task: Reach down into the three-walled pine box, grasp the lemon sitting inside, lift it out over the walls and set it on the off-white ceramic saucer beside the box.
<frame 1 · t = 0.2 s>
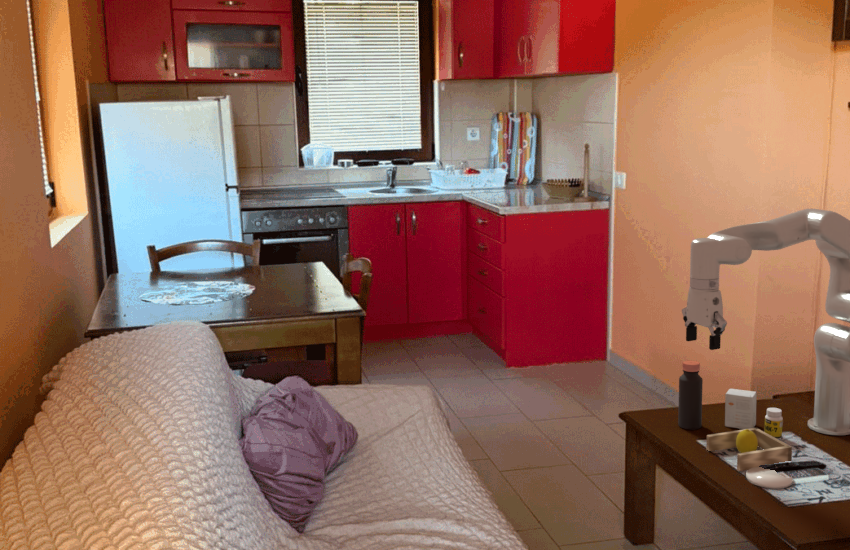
hand: (702, 344, 224), 31 cm above the table, tool pointing down, fingers open, 9 cm apart
vinegar: (689, 426, 247), on the table
supplement bottle: (772, 437, 236), on the table
lemon: (746, 457, 224), on the table
pine box: (747, 456, 224), on the table
small box: (740, 426, 246), on the table
saucer: (769, 479, 210), on the table
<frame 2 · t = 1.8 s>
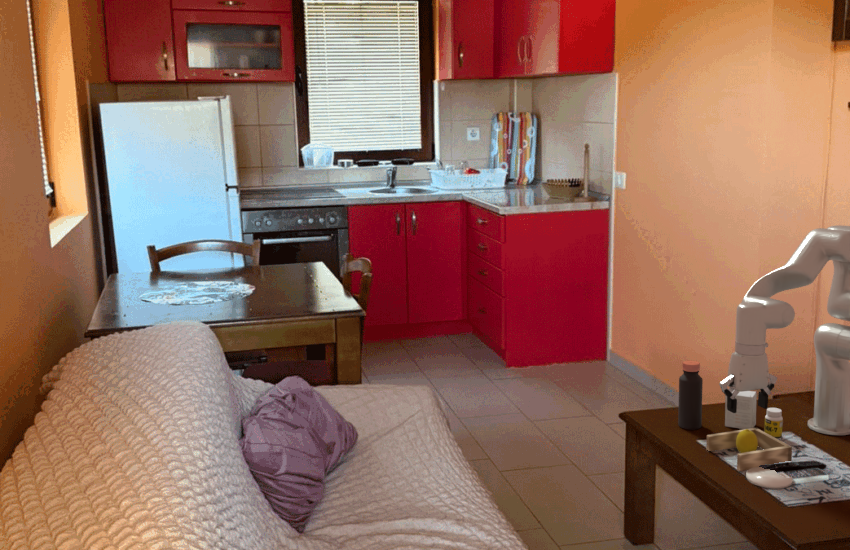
hand: (747, 409, 221), 14 cm above the table, tool pointing down, fingers open, 9 cm apart
nothing on the table moved.
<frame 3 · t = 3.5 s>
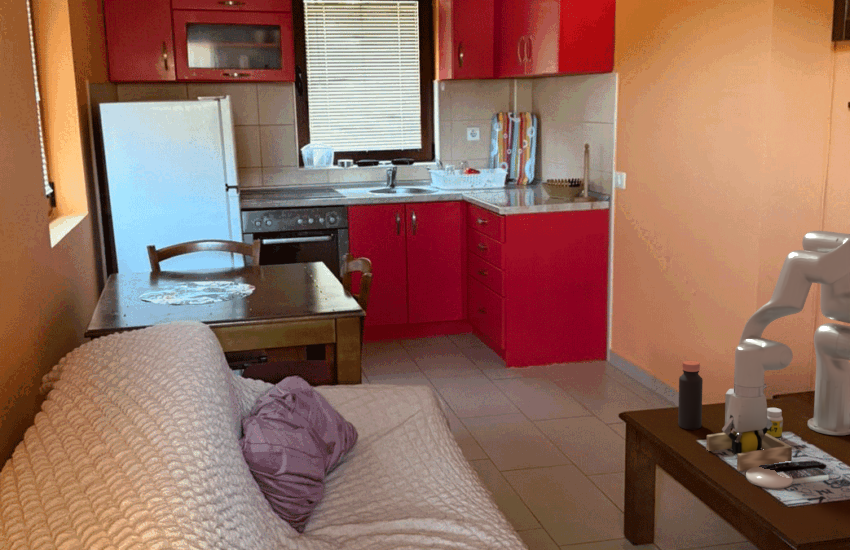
hand: (746, 452, 224), 1 cm above the table, tool pointing down, fingers closed on lemon, 5 cm apart
lemon: (746, 457, 224), on the table, touching gripper
everything else where it was.
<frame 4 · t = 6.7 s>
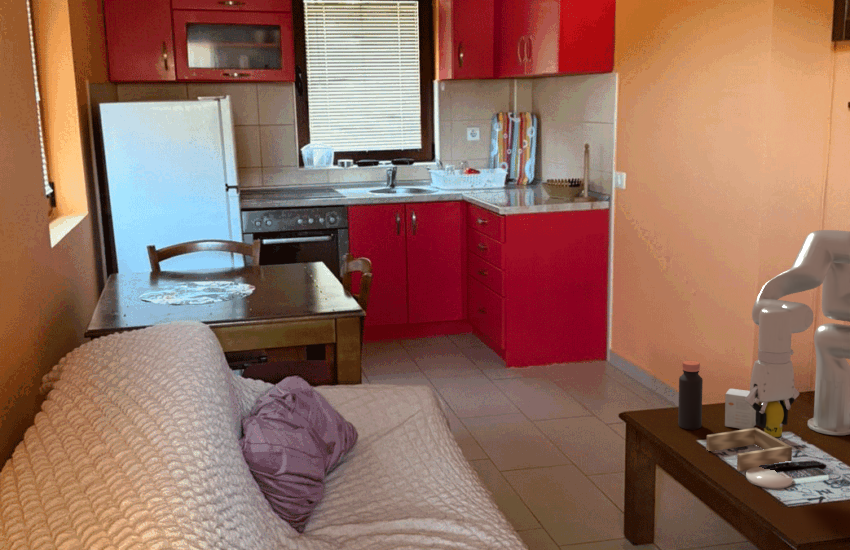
hand: (771, 424, 207), 15 cm above the table, tool pointing down, fingers closed on lemon, 5 cm apart
lemon: (771, 429, 207), point 13 cm above the table, touching gripper
everything else where it was.
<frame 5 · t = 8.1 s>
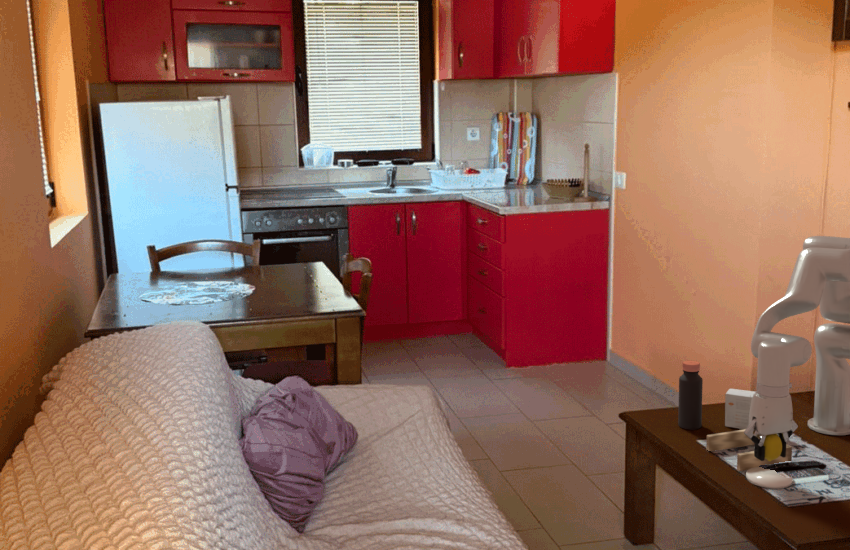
hand: (769, 456, 209), 6 cm above the table, tool pointing down, fingers closed on lemon, 5 cm apart
lemon: (769, 461, 209), point 5 cm above the table, touching gripper
everything else where it was.
when the fingers open (4 cm above the table, at t = 9.5 s): lemon drops 1 cm, resting on saucer.
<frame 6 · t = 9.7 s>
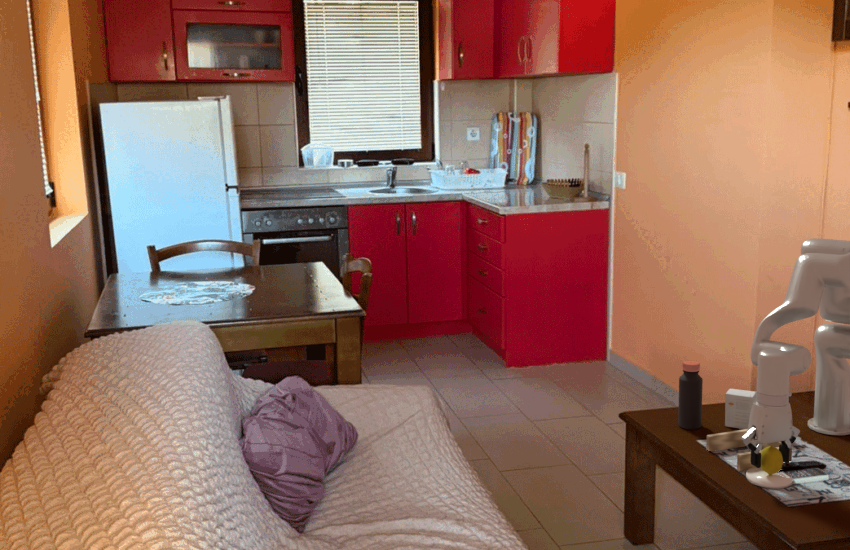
hand: (769, 463, 209), 4 cm above the table, tool pointing down, fingers open, 7 cm apart
lemon: (770, 475, 210), point 1 cm above the table, touching saucer
everything else where it was.
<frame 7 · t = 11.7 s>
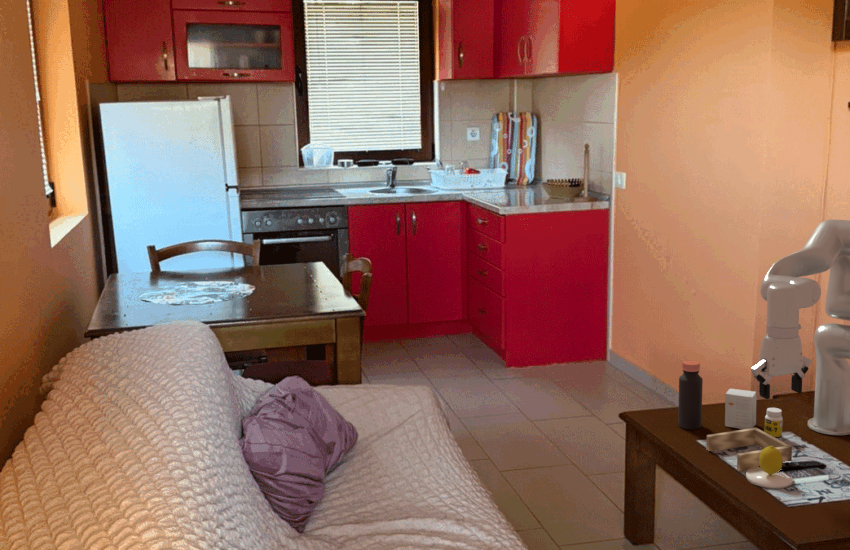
hand: (780, 394, 212), 21 cm above the table, tool pointing down, fingers open, 9 cm apart
nothing on the table moved.
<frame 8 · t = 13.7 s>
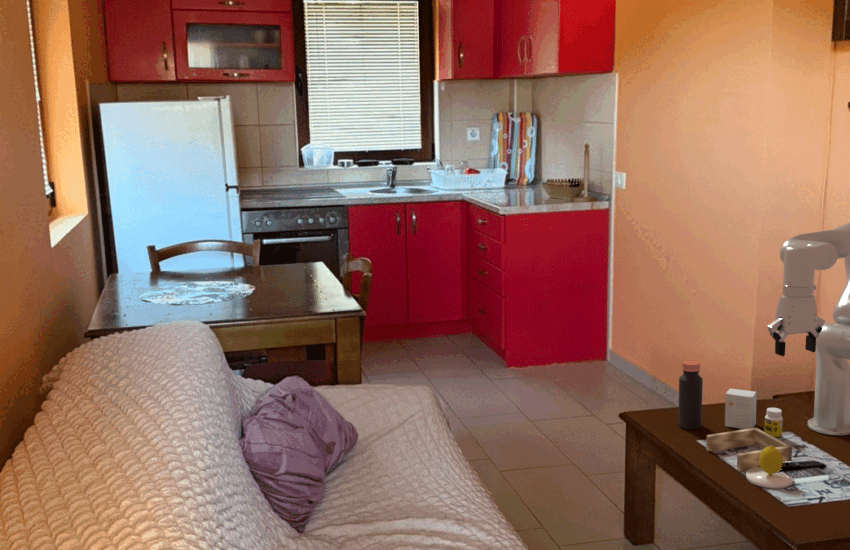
hand: (795, 352, 221), 28 cm above the table, tool pointing down, fingers open, 9 cm apart
nothing on the table moved.
at the end: lemon 0.4 cm from the saucer (horizontally); lemon point 0.8 cm above the table; the gripper is holding nothing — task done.
